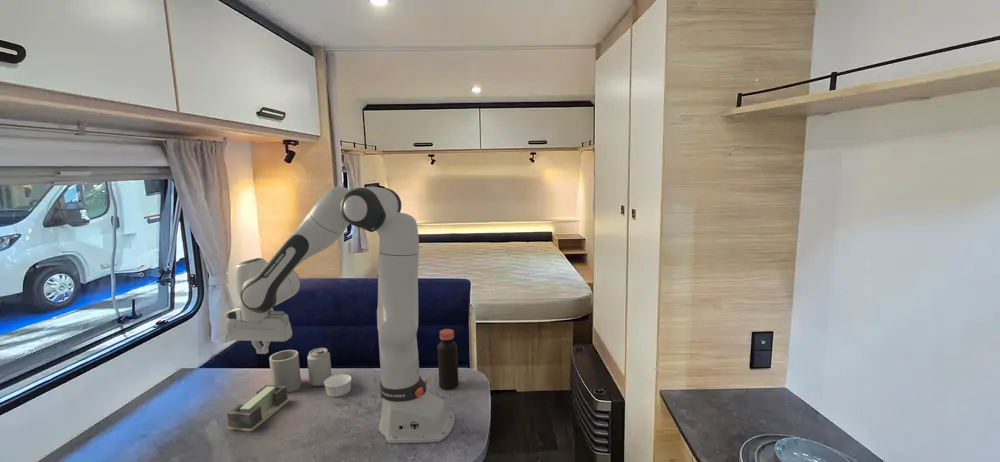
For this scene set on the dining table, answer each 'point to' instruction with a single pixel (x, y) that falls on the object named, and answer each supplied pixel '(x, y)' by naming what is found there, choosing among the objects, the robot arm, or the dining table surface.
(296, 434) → the dining table surface
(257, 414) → the grey and cream cradle
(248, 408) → the slat
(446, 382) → the bottle
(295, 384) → the cup
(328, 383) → the ramekin
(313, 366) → the can
